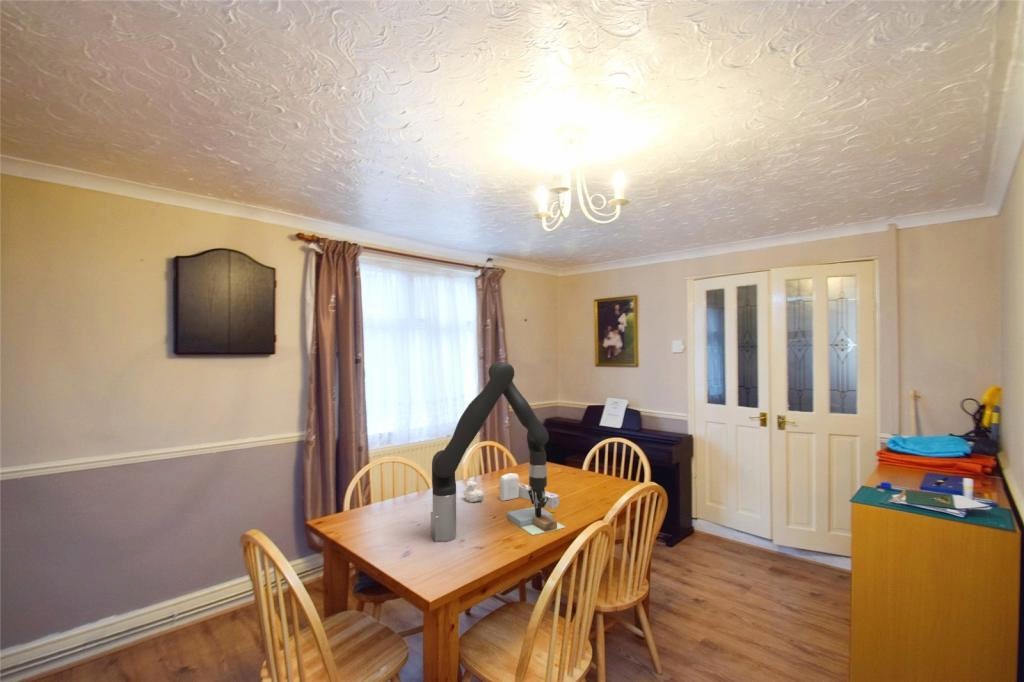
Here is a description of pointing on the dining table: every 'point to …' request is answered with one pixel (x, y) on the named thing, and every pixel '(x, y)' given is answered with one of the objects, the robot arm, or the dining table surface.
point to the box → (552, 498)
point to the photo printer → (509, 486)
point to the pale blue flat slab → (525, 516)
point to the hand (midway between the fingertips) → (538, 516)
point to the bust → (473, 492)
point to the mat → (535, 530)
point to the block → (544, 523)
